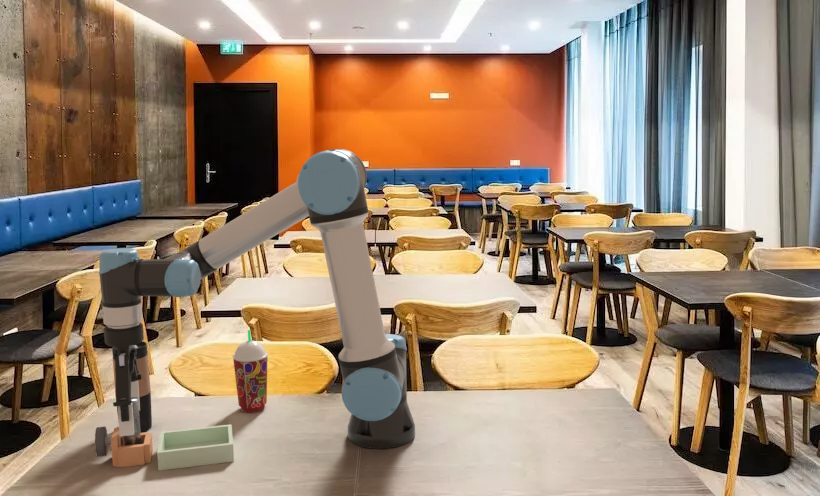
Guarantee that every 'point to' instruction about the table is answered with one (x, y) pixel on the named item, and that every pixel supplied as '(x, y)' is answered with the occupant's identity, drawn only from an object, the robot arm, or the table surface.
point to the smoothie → (251, 375)
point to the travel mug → (141, 385)
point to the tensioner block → (123, 448)
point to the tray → (195, 447)
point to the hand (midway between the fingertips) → (130, 422)
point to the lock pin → (136, 437)
